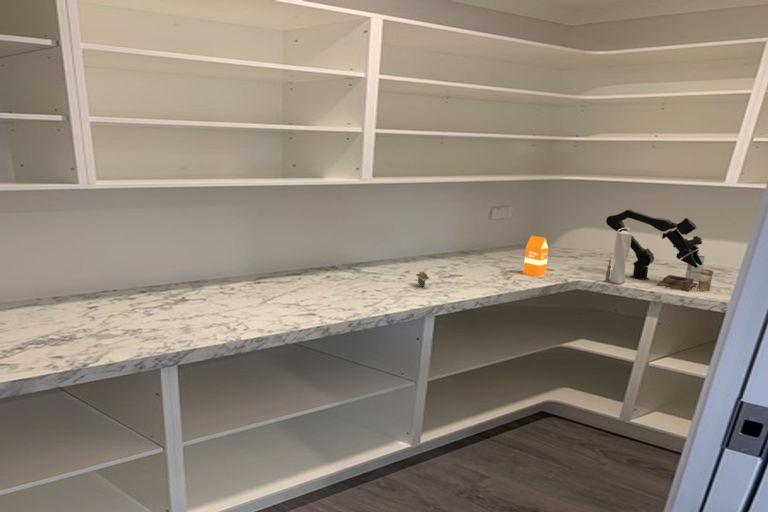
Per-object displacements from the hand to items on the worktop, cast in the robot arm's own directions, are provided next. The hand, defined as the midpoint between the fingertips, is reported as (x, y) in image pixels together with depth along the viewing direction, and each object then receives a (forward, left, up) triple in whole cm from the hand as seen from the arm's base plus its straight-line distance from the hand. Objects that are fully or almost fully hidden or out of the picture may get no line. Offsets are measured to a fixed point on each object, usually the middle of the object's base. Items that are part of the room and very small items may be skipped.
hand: (699, 265), depth 244 cm
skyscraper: (-32, +18, -12) cm, 39 cm away
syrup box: (+15, +14, -12) cm, 23 cm away
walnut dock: (-4, +7, -12) cm, 14 cm away
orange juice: (-65, +41, -12) cm, 78 cm away
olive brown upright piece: (-134, +29, -12) cm, 138 cm away
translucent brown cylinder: (+2, -3, -12) cm, 12 cm away
